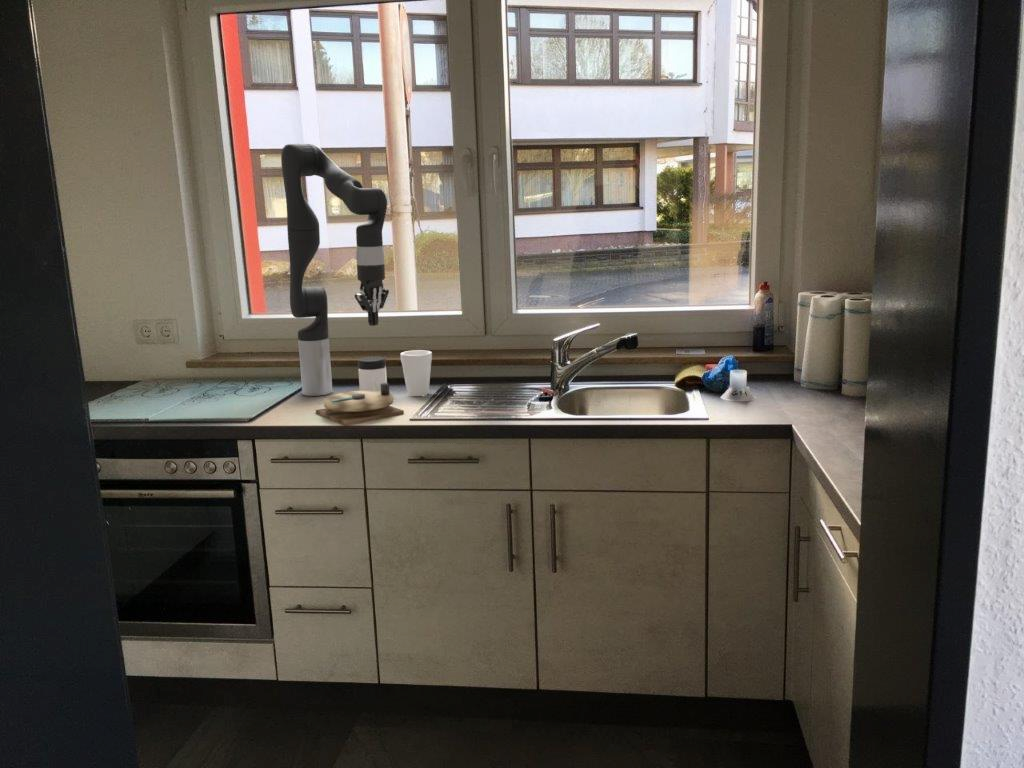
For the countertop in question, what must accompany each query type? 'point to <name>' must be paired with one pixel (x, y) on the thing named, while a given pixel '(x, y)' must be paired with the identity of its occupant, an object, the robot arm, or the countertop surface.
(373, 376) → the jar
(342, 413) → the mount
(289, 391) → the countertop surface
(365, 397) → the handwheel
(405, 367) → the foam cup
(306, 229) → the robot arm
